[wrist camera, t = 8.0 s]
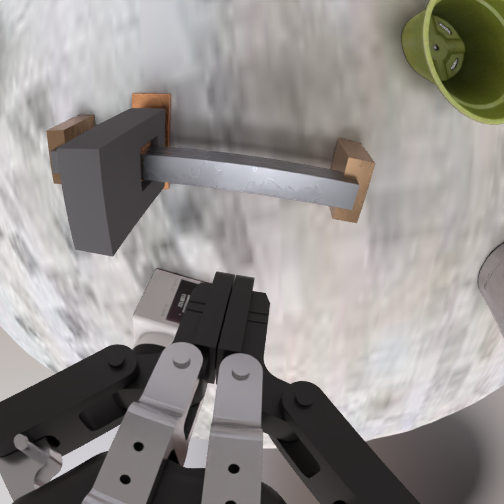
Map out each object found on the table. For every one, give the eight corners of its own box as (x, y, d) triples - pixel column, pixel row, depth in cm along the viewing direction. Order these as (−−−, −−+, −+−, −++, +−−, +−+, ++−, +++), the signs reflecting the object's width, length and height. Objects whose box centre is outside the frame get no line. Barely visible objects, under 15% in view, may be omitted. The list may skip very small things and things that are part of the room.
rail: (365, 121, 23) (387, 142, 18) (341, 213, 28) (352, 253, 23) (77, 95, 23) (35, 112, 18) (84, 179, 29) (49, 209, 24)
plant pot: (361, 59, 20) (397, 64, 13) (406, -25, 15) (454, -48, 8) (449, 119, 22) (503, 152, 15) (490, 41, 16) (552, 51, 9)
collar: (165, 108, 23) (98, 149, 14) (164, 186, 27) (113, 256, 18) (132, 107, 23) (56, 148, 14) (134, 183, 27) (75, 249, 18)
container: (155, 266, 35) (111, 359, 24) (221, 285, 35) (195, 386, 25) (152, 310, 39) (118, 395, 29) (209, 326, 40) (187, 416, 29)
